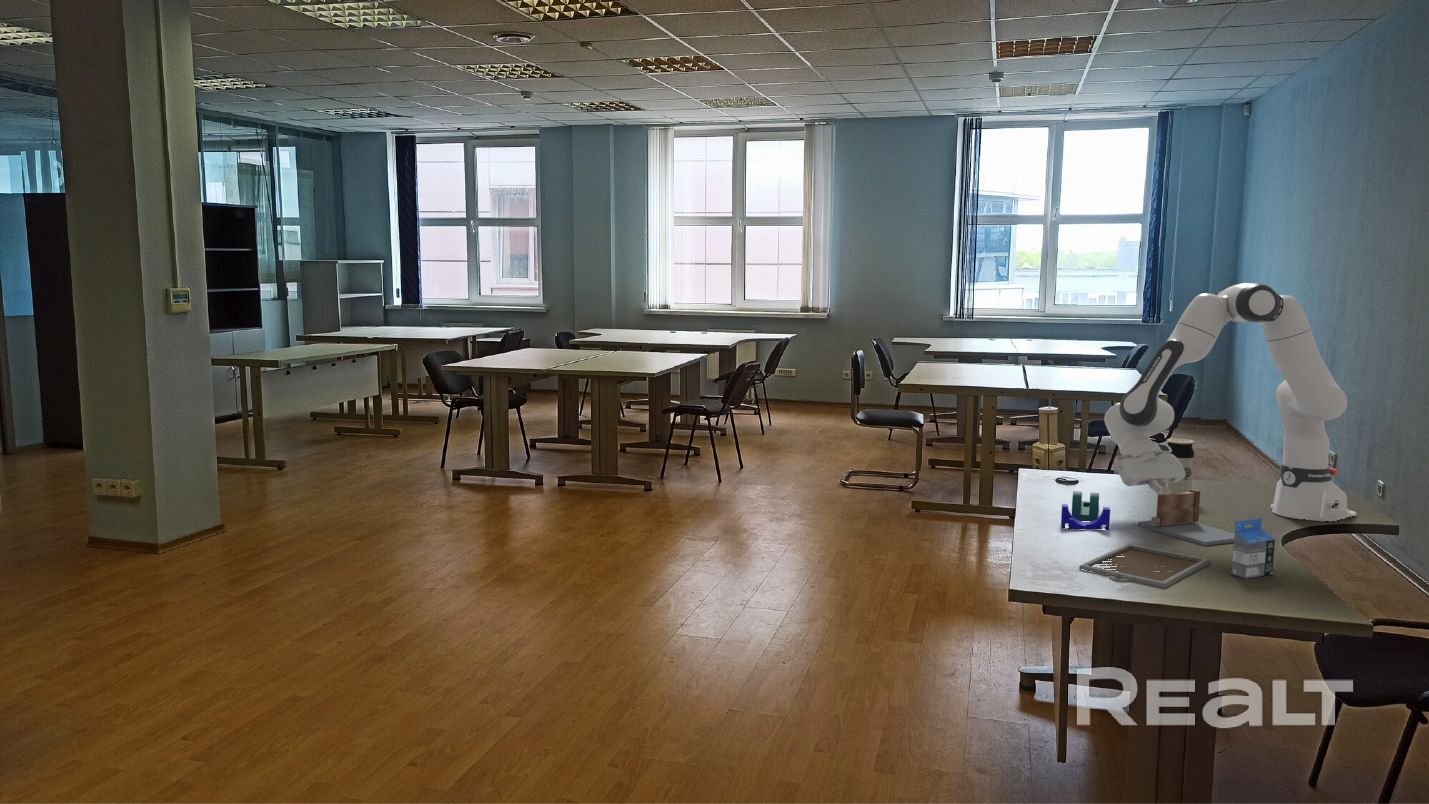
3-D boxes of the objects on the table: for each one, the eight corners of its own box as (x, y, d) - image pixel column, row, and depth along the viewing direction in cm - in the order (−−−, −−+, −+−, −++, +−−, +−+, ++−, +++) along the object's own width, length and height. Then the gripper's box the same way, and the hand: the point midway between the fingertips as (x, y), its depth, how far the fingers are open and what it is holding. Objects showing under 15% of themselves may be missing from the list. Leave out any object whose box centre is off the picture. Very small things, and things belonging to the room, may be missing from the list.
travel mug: (1158, 495, 303) (1162, 437, 301) (1185, 495, 302) (1189, 438, 300) (1167, 500, 295) (1170, 442, 293) (1194, 501, 294) (1198, 442, 292)
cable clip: (1061, 529, 261) (1062, 507, 261) (1060, 525, 266) (1061, 504, 265) (1109, 533, 258) (1110, 510, 257) (1108, 529, 262) (1109, 507, 261)
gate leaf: (1191, 519, 265) (1193, 489, 264) (1198, 521, 263) (1200, 490, 262) (1149, 524, 260) (1151, 493, 259) (1155, 526, 258) (1157, 495, 257)
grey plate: (1176, 521, 270) (1177, 517, 270) (1245, 540, 250) (1245, 536, 249) (1137, 525, 265) (1138, 521, 265) (1204, 545, 245) (1204, 542, 244)
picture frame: (1209, 558, 229) (1160, 586, 209) (1209, 565, 230) (1159, 593, 209) (1128, 543, 243) (1073, 567, 222) (1128, 549, 243) (1073, 574, 222)
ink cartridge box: (1245, 579, 217) (1249, 525, 216) (1230, 574, 221) (1234, 521, 219) (1273, 575, 221) (1277, 521, 219) (1257, 570, 224) (1261, 517, 223)
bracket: (1097, 523, 267) (1098, 495, 266) (1071, 521, 270) (1072, 493, 269) (1099, 509, 284) (1100, 483, 283) (1074, 507, 286) (1075, 481, 285)
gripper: (1118, 449, 271) (1142, 491, 263) (1174, 446, 279) (1199, 486, 271) (1105, 462, 276) (1129, 504, 268) (1161, 458, 283) (1185, 498, 275)
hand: (1165, 495), depth 269 cm, fingers closed
